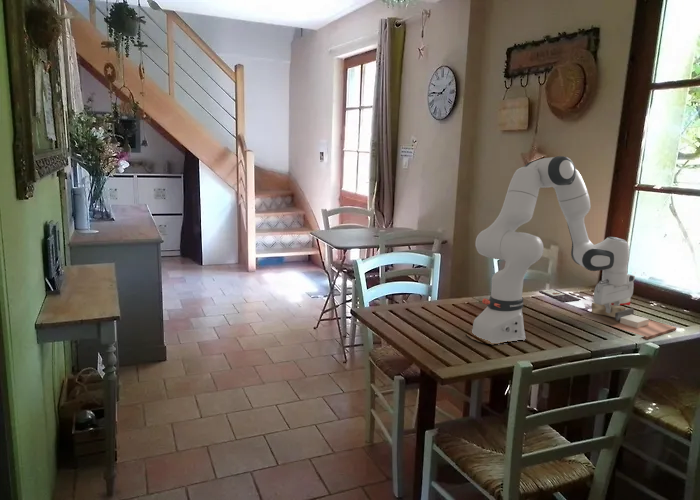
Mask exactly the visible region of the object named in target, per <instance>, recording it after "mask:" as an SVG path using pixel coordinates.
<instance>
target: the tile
mask: <svg viewBox="0 0 700 500" xmlns="http://www.w3.org/2000/svg"><path fill="white" fill-rule="evenodd" d="M649 320H650V318H647V317H642V316H639V315H636V314H634V315H632V314H631V315H627V316H624V317H620V323H622V324H625V325H629V326H632V327H635V328H639V327H642V326H646V325H648V324H649Z"/></svg>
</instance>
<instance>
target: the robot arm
mask: <svg viewBox="0 0 700 500" xmlns="http://www.w3.org/2000/svg"><path fill="white" fill-rule="evenodd" d="M543 188H546V189H547V188H553V189H554V191H555V194H556V195H555V196H556V198H557V202H558V205H559V208H560V210H561V212H562V214H563V217H564V219H565V221H566V223H567V228H568V231H569V235H570V236H569V237H570V240H571V249H570V255H571V259H572V260H573V262H574V263H575V264H577V265H579V266H581V267H583V268H584V269H586V270H587V271H591V272H598V271H602V273H601V280H599V282H598V283H597V284H596V285H595V287H594V291H593V298H592V301H593V302H592V303H595V304H599V305H605V307H606V312H607V313H611V312H612V308H611V306H610V305H611V302H614V306H621V305H620V303H621V300H623V299H627V298H630V299H631V298H632V297H633V294H634V285H635V284H634V281H635V279H636V277H635V275H633V274H629V273H628V263H629V259H630V247H629V243H628V241H627V240H626V239H623V238H619V237H615V236H608V237H606V238H605V239H603V240H602V241H600V242H598V243H596V244H594V243H593V242H592V241H591V240H590V238H589V235H588V232H587V229H586V224H585V217H586V215H587V214H589V212H590V210H591V208H592V207H591V198H590V195H589V191H588V187H587V186H586V183H585V182H584V179H583V176H582V175H581V174H580V171H579V170H578V169H577V168H576V166H575V163H574V162H573V160H571V158H569V157H567V156H563V155H562V156H561V155H559V156H557V155H556V156H553V157H544V158H540V159H536V160H533V161H530V162H528V163H526V164H525V165H524V166H522V167H520V168H517V169H516V170H515V171H514V173H513V175H512V177H511V179H510V182H509V185H508V188H507V192H506V194H505V198H504V201H503V204H502V207H501V210H500V212H499V214H498V216H497V217H496V219H494V221H493V222H492V223H491V224H490V225H489V226H488V227H487V228H485V229H483V230H481V231H480V232H479V233H478V234H477V236H476V238H475V249H476V251H477V253H478V254H479V255H481V256H483V257H486V258H489V259H492V260H493V259H495V260H499V261H505V263H504V268H503V269H500V270H498V271H495V273H494V274H493V275H492V276H491V293H490V297H489V299H488V298H483V299H482V301H481V302H482V304H483V305H484V304H485V305H487V306H486V308H484V310H482V311H481V313H479V314H478V315H477V316H476V317H475V318H474V320H473V323H472V329H471V330H472V333H473V334H474V335H476V336H477V337H479V338H482V339H485V340H488V341H490V342H491V343H500V342H507V341H517V340H523V341H526V340H527V338H526V331H525V326H524V315H523V308H524V297H523V287H524V281H525V280H524V278H525V277H526V273H527V271H528V270H529V268H530V267H531V266H533V265H534V264H535V263H537V262H538V261H540V259H541V258H542V256H543V254H544V247H545V246H544V243H543V241H542V239H541V237H539V236H537V235H534V234H531V233H528V232H523V231H521V232H520V231H516V230H518V229H519V227H521V226H522V225H524V224H527V223H529V222H530V221H531V220H532V218H533V216H534V213H535V208H536V205H537V202H538V201H537V200H538V197H539V193H540V189H543ZM525 339H526V340H525ZM517 342H518V341H517Z"/></svg>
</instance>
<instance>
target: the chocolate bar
mask: <svg viewBox="0 0 700 500" xmlns="http://www.w3.org/2000/svg"><path fill="white" fill-rule="evenodd" d="M538 293H539V294H543V295H545V296H547V297H549V298H551V299H553V300H554V299H555V300H557V301H559V302H561V303H571V302H580V301H579V300H581V299H580V298H578V297H576V296H573V295H570V294H568V293H566V292H563V291H561V290H558V289H546V290H544V289H543V290H538ZM581 301H582V300H581Z"/></svg>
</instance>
